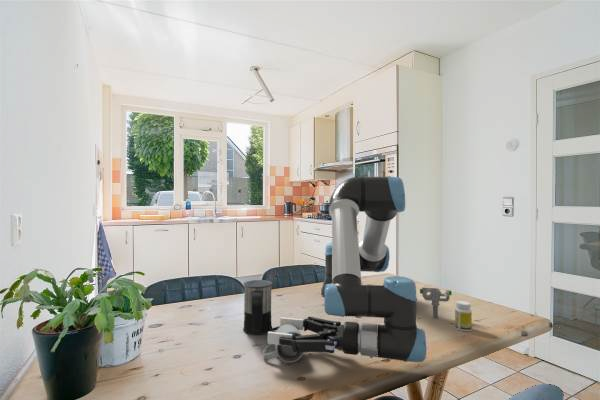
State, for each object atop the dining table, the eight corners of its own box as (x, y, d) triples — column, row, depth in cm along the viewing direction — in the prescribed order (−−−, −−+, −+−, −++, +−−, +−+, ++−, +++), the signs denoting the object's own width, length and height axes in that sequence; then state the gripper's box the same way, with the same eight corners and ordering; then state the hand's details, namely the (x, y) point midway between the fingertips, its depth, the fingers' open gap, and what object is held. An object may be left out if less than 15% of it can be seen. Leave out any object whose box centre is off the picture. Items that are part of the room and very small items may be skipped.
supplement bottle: (474, 329, 102) (474, 303, 102) (466, 333, 100) (466, 306, 100) (460, 324, 106) (460, 299, 106) (451, 327, 104) (451, 301, 104)
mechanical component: (452, 320, 110) (452, 291, 111) (420, 317, 113) (420, 289, 113) (449, 317, 113) (449, 288, 113) (419, 314, 115) (419, 287, 115)
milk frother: (240, 326, 104) (240, 280, 104) (285, 319, 111) (285, 276, 111) (251, 344, 91) (251, 292, 91) (301, 335, 97) (301, 286, 98)
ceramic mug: (299, 347, 89) (298, 319, 89) (306, 361, 81) (305, 331, 81) (261, 351, 87) (260, 323, 87) (264, 366, 79) (264, 335, 79)
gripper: (355, 377, 69) (259, 364, 75) (362, 335, 91) (286, 327, 96) (356, 342, 69) (259, 331, 75) (362, 309, 91) (286, 302, 96)
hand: (274, 329), depth 85 cm, fingers closed on ceramic mug, 10 cm apart
